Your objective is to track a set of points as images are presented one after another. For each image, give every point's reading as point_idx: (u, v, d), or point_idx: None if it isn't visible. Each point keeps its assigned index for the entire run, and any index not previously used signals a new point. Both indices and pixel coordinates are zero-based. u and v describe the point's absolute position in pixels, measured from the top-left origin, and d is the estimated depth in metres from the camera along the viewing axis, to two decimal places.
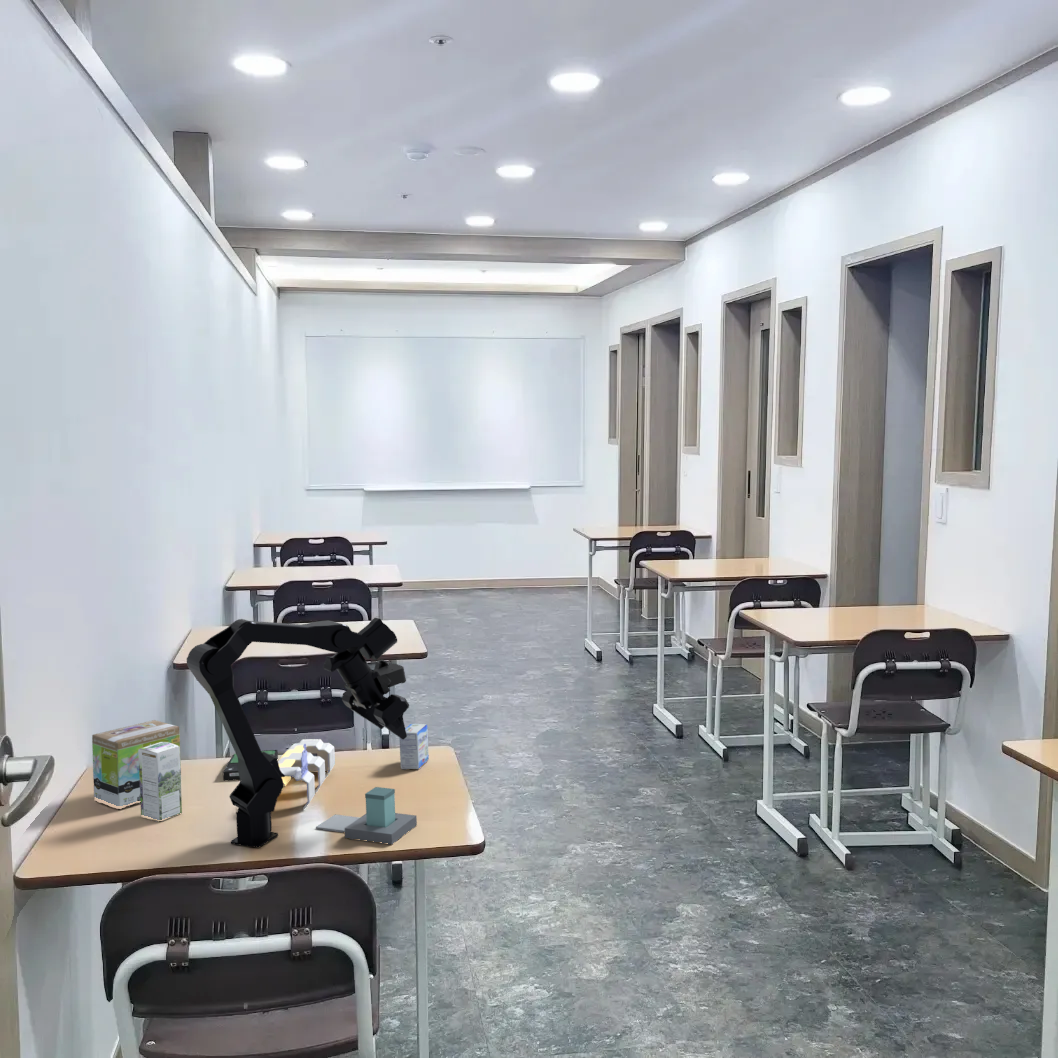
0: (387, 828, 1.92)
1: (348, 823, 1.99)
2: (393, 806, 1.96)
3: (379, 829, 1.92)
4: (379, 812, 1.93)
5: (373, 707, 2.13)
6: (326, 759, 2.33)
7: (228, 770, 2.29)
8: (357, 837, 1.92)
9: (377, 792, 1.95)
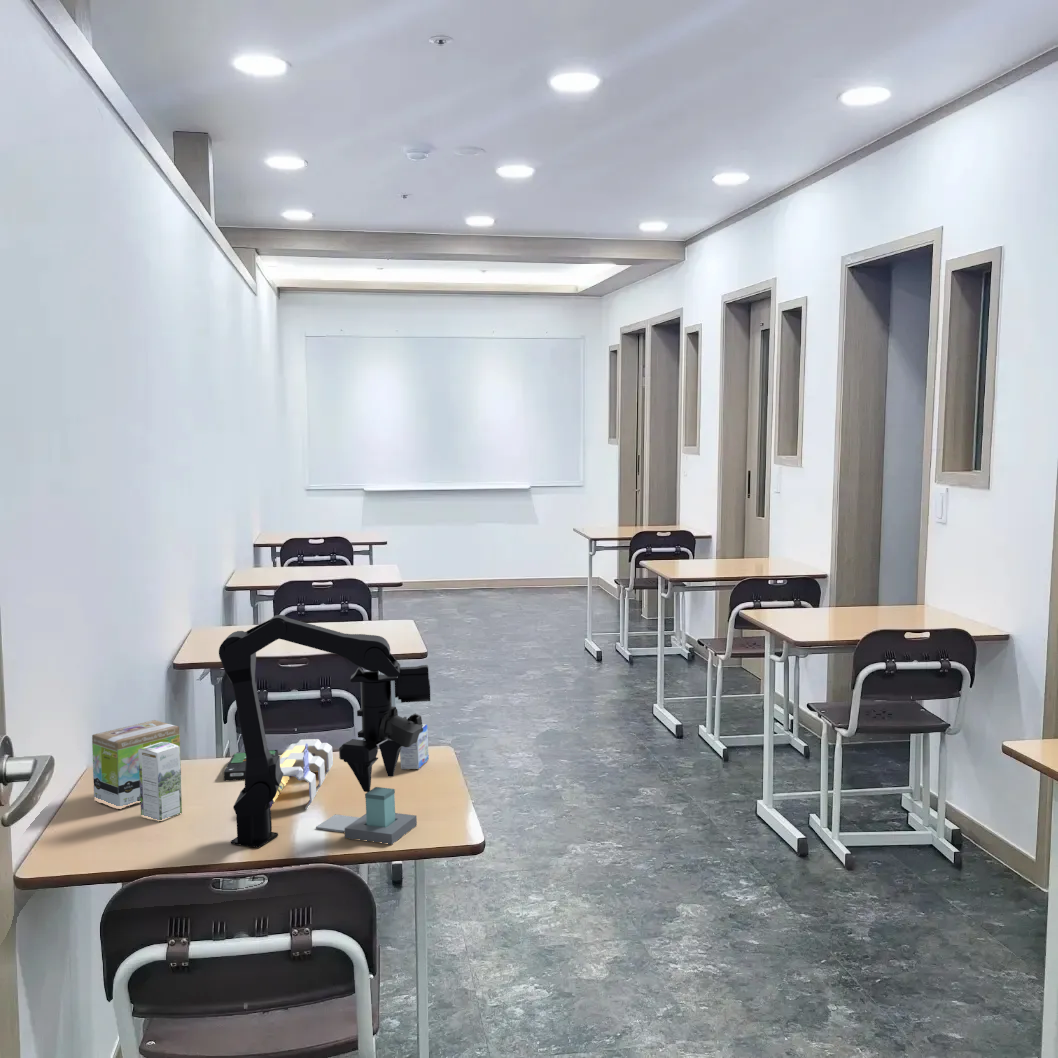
0: (387, 828, 1.92)
1: (348, 823, 1.99)
2: (393, 806, 1.96)
3: (379, 829, 1.92)
4: (379, 812, 1.93)
5: (393, 751, 1.99)
6: (324, 759, 2.33)
7: (229, 770, 2.29)
8: (357, 837, 1.92)
9: (377, 792, 1.95)
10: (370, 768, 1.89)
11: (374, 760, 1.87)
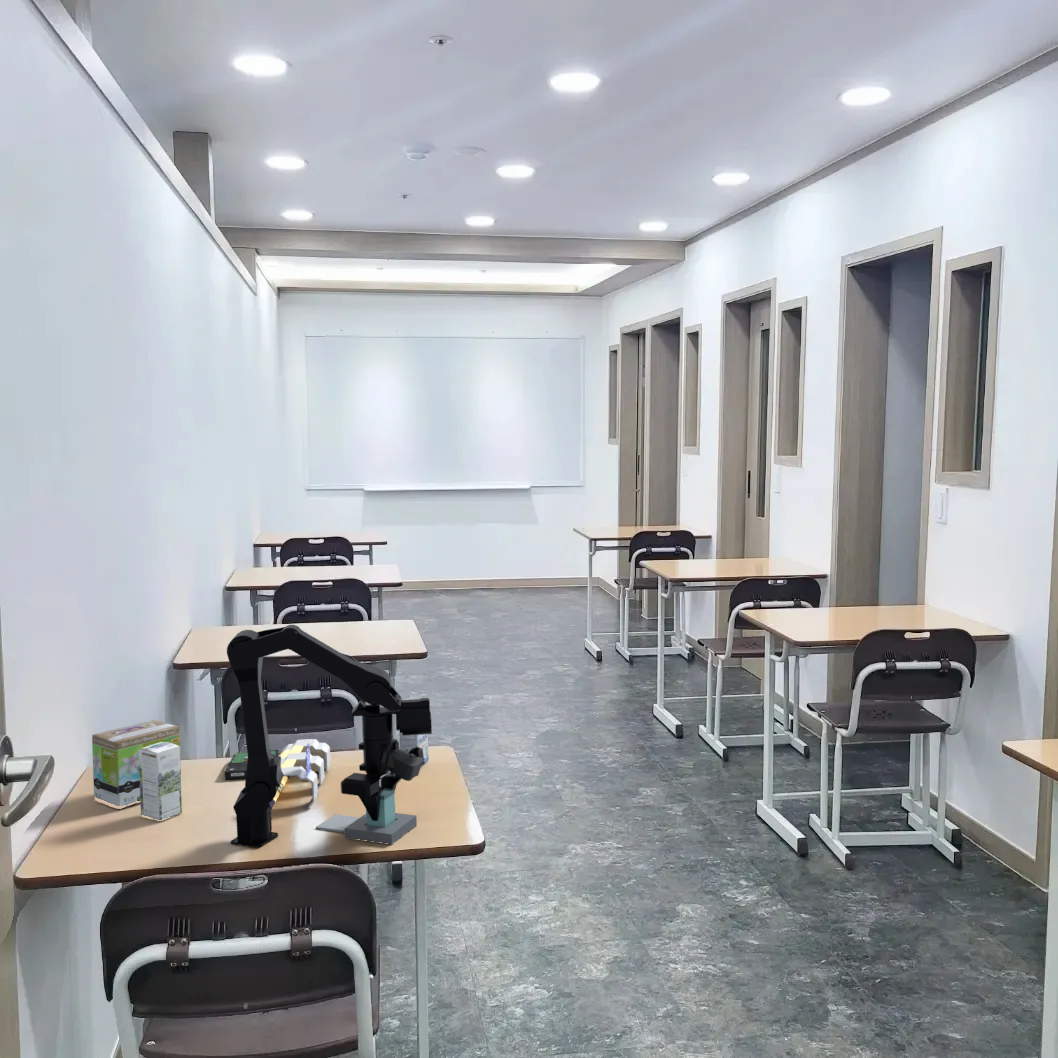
0: (387, 828, 1.92)
1: (348, 823, 1.99)
2: (393, 806, 1.96)
3: (379, 829, 1.92)
4: (379, 812, 1.93)
5: (388, 787, 1.97)
6: (321, 759, 2.33)
7: (229, 770, 2.29)
8: (357, 837, 1.92)
9: None
10: (378, 797, 1.92)
11: (382, 790, 1.90)
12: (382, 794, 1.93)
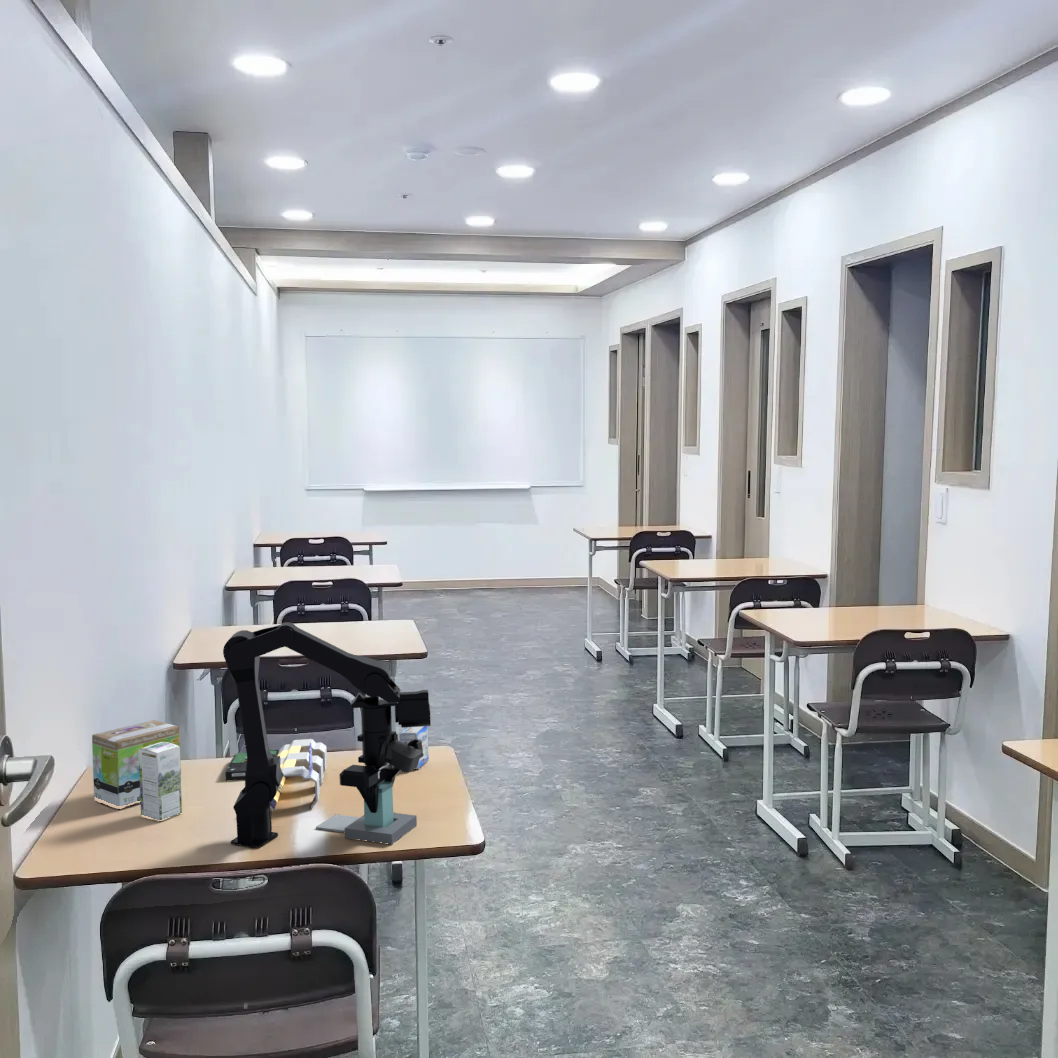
0: (387, 828, 1.92)
1: (348, 823, 1.99)
2: (391, 799, 1.96)
3: (379, 829, 1.92)
4: None
5: (387, 779, 1.97)
6: None
7: (230, 770, 2.29)
8: (357, 837, 1.92)
9: None
10: (377, 789, 1.92)
11: (381, 782, 1.90)
12: (380, 787, 1.93)
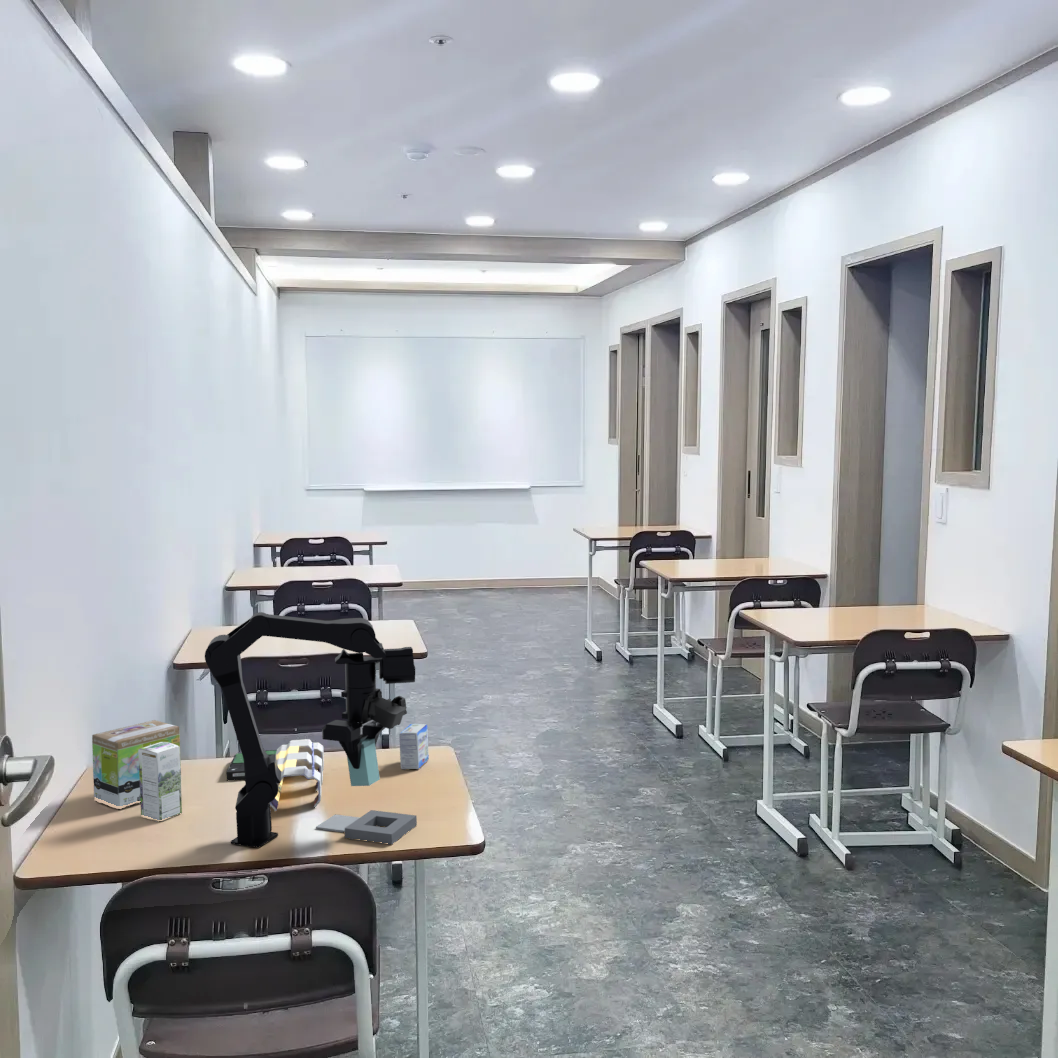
0: (387, 828, 1.92)
1: (348, 823, 1.99)
2: (375, 755, 1.97)
3: (379, 829, 1.92)
4: (360, 762, 1.94)
5: (371, 736, 1.98)
6: None
7: (231, 770, 2.29)
8: (357, 837, 1.92)
9: None
10: (360, 745, 1.93)
11: (363, 737, 1.91)
12: None
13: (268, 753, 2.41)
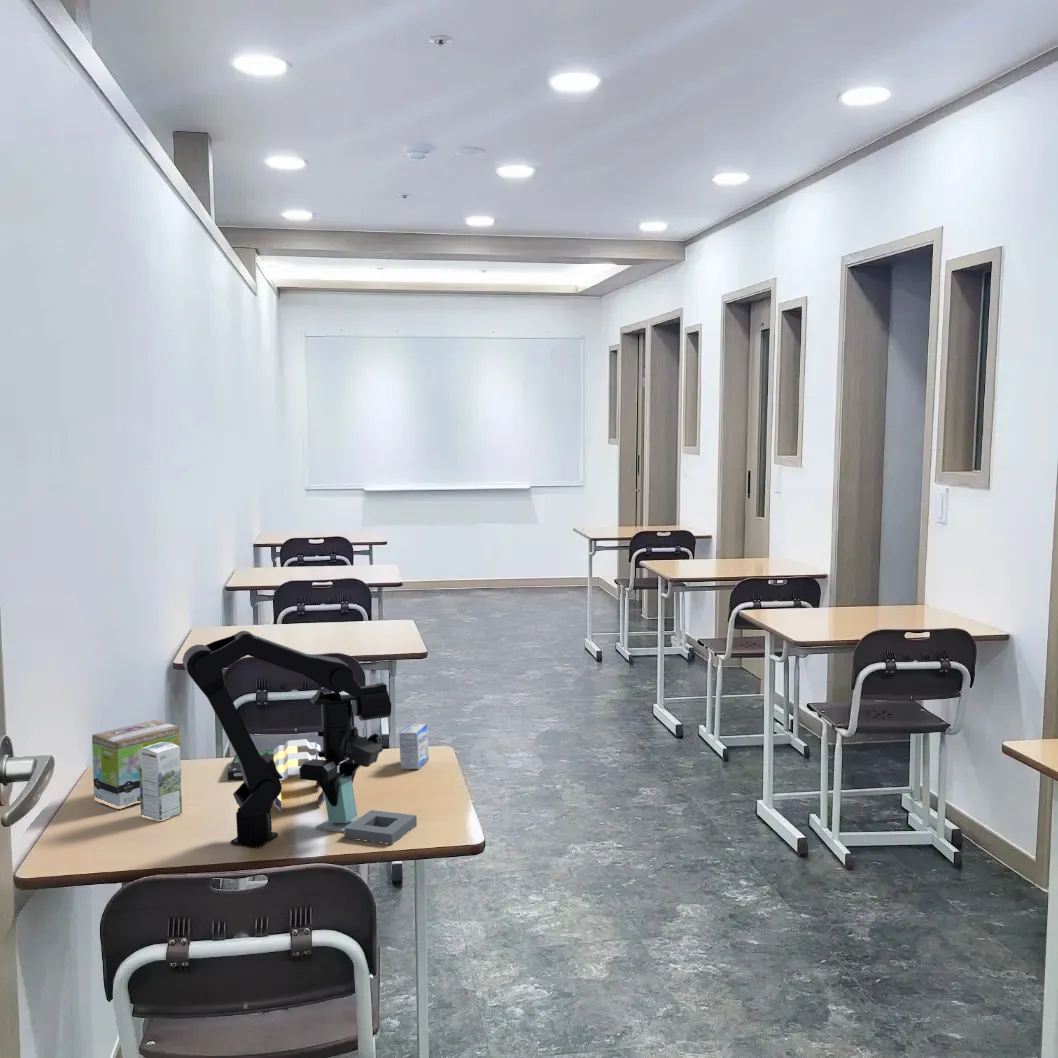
0: (387, 828, 1.92)
1: (348, 823, 1.99)
2: (352, 792, 2.00)
3: (379, 829, 1.92)
4: (338, 799, 1.97)
5: (348, 773, 2.01)
6: None
7: (232, 770, 2.29)
8: (357, 837, 1.92)
9: None
10: (337, 783, 1.96)
11: (340, 775, 1.94)
12: None
13: (269, 753, 2.41)
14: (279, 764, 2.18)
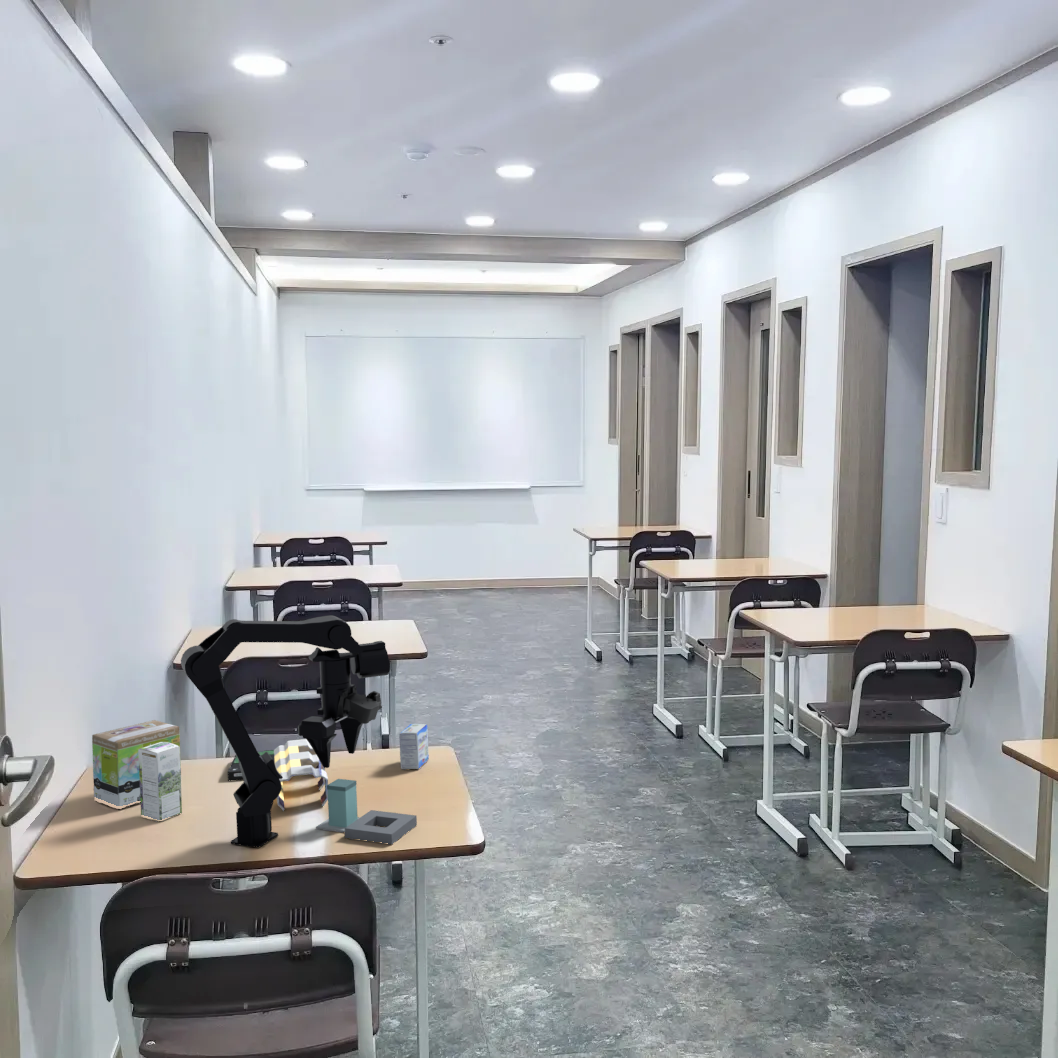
0: (387, 828, 1.92)
1: None
2: (355, 797, 2.00)
3: (379, 829, 1.92)
4: (340, 803, 1.97)
5: (353, 728, 2.03)
6: None
7: (232, 770, 2.29)
8: (357, 837, 1.92)
9: (339, 784, 1.99)
10: (329, 744, 1.93)
11: (332, 736, 1.91)
12: (343, 786, 1.97)
13: (269, 753, 2.41)
14: (281, 764, 2.18)
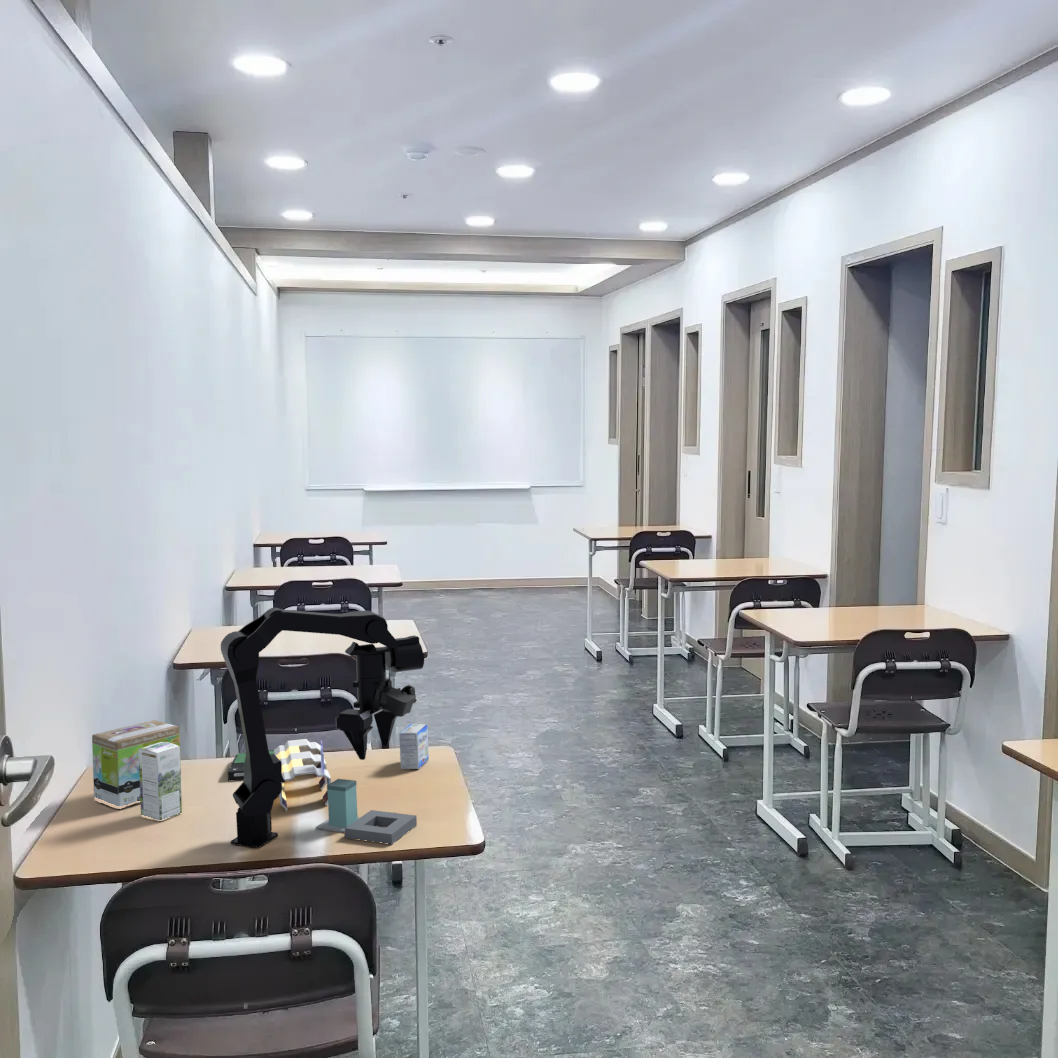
0: (387, 828, 1.92)
1: None
2: (355, 797, 2.00)
3: (379, 829, 1.92)
4: (340, 803, 1.97)
5: (387, 721, 2.07)
6: None
7: (232, 770, 2.29)
8: (357, 837, 1.92)
9: (339, 784, 1.99)
10: (365, 736, 1.97)
11: (369, 728, 1.95)
12: (343, 786, 1.97)
13: None
14: (283, 764, 2.18)
